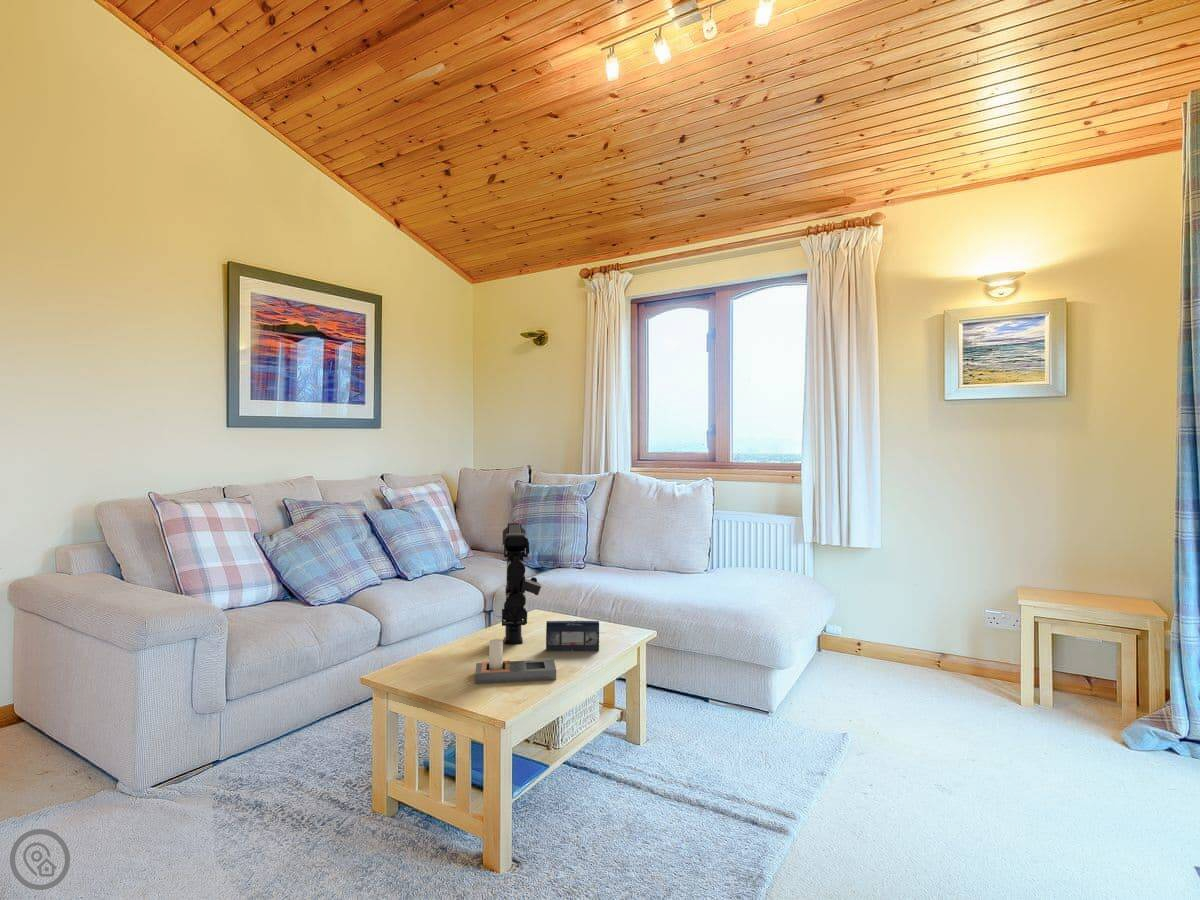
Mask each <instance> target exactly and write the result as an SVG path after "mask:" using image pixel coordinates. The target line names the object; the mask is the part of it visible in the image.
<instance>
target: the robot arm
mask: <svg viewBox="0 0 1200 900" xmlns="http://www.w3.org/2000/svg"><path fill="white" fill-rule="evenodd" d="M502 546H503V558H506V585H505V589H504V590H505V591H504V592H505V601H504V604H503V608H502V609H501V626H502V627H505V634H504V635H505V636H504V637H503V645H514V644H516V645H517V644H523V641H524V640H523V636H522V626H526V625H527V624H528V611H527V610H526V608H525V606H526V601H527V599H526V597H527V596H526V595H525V594H526V592H528V593H531V594H533V595H534V596H539V594H540V591H541V588H542V583H540V582H539V581H538V578H537V577H535V576H532V577H531V578H526V576H525V573H526V565H525V558H528V555H529V554H530V541H529V538H528V537H526V530H525V529H524V528H523V527H522V523H521V522H509V523H507V527H505V528H504V529H503V530H502Z"/></svg>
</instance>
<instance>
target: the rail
mask: <svg viewBox="0 0 1200 900" xmlns="http://www.w3.org/2000/svg"><path fill="white" fill-rule="evenodd" d="M556 680H557V667H556V663H555V660H554V659H553V658H552V659H533V660H531V659H530V660H516V661H515V660H513V661H511V660H503V669H502V670H489V661H481V662H476V663H475V672H474V684H475V685H481V684H482V685H484V684H485V685H486V684H504V683H505V684H506V683H519V682H522V683H523V682H540V681H556Z"/></svg>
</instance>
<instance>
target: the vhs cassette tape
mask: <svg viewBox="0 0 1200 900" xmlns="http://www.w3.org/2000/svg"><path fill="white" fill-rule="evenodd" d="M545 625H546V626H545V627H546V629H545V651H546V652H599V651H600V621H599V620H546V623H545Z"/></svg>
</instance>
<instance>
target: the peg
mask: <svg viewBox="0 0 1200 900" xmlns="http://www.w3.org/2000/svg"><path fill="white" fill-rule="evenodd" d="M503 647H504V639H499V638H495V639H490V640H489V647H488V648H489V649H488V650H489V651H488V652H489V654H488V656H489V657H488V662H489V670H502V669H503V661H504V659H503V656H504V653H503V652H504V651H503V650H504V648H503Z"/></svg>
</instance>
